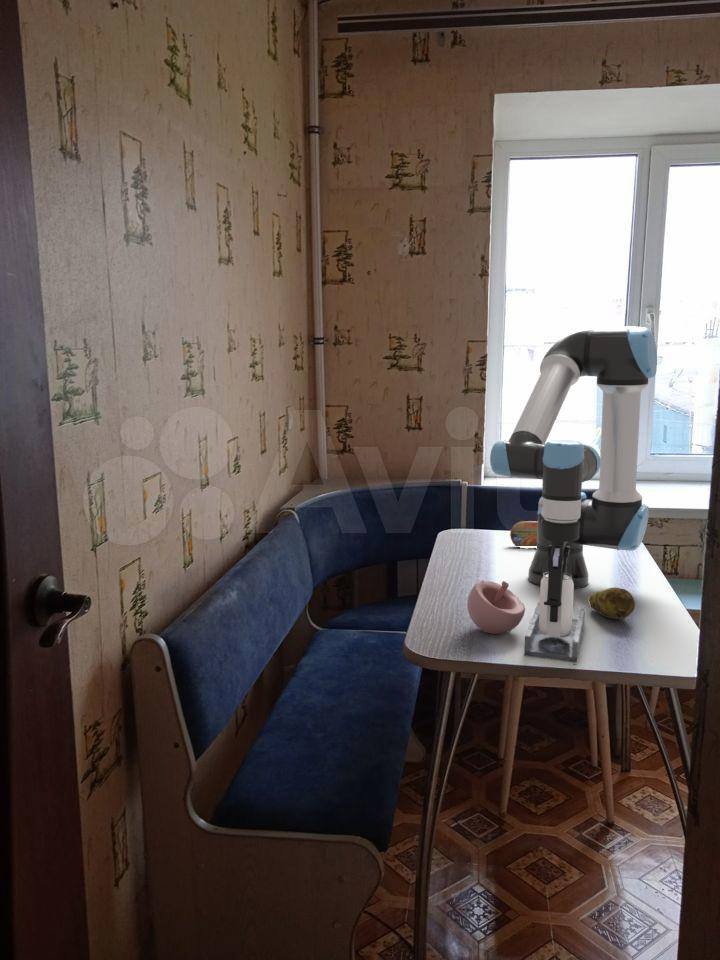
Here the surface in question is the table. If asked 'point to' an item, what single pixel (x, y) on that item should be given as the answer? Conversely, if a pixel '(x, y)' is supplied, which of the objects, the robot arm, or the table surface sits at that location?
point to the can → (566, 604)
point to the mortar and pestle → (494, 607)
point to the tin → (524, 533)
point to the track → (554, 640)
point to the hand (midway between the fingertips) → (554, 630)
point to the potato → (613, 603)
